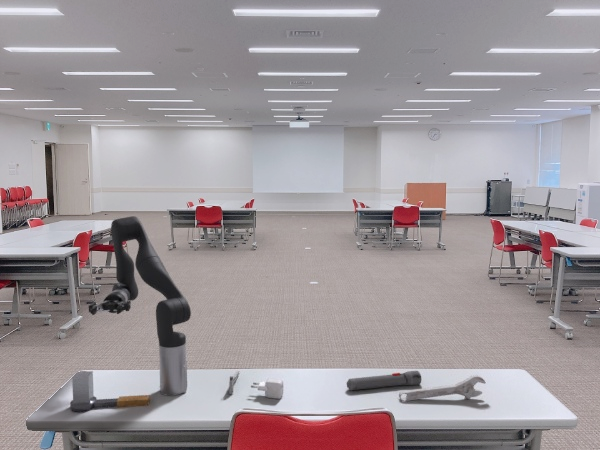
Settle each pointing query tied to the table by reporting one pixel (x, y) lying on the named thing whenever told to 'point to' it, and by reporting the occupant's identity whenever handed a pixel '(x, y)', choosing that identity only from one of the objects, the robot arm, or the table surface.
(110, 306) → the robot arm
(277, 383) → the power adapter
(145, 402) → the ratchet
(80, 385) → the brushed metal block
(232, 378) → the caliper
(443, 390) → the wrench
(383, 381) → the flashlight
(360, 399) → the table surface
